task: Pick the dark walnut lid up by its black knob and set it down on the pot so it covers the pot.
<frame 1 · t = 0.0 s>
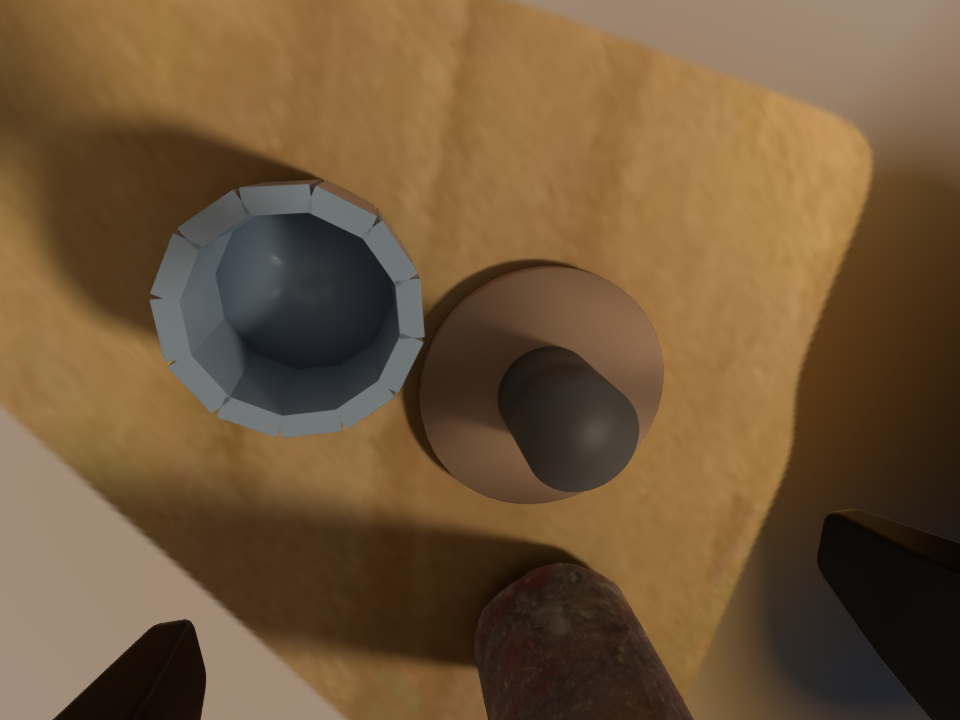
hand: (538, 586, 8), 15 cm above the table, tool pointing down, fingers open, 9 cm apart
lid: (539, 385, 24), on the table
candle: (541, 608, 27), on the table
pot: (309, 283, 20), on the table
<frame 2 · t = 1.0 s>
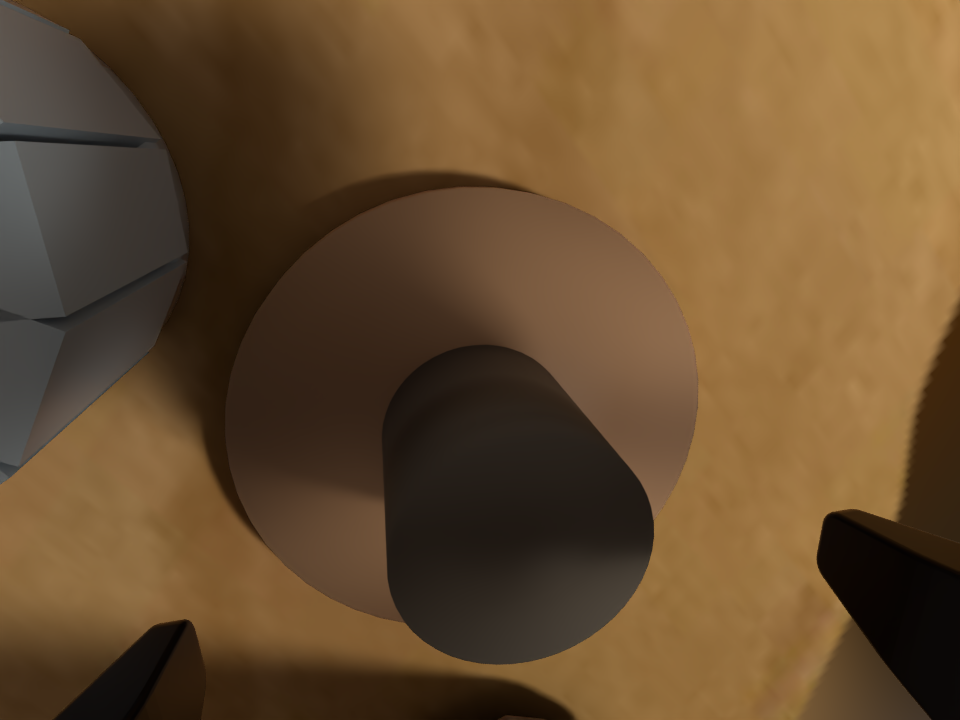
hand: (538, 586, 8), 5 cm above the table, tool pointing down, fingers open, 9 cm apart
lid: (470, 415, 13), on the table
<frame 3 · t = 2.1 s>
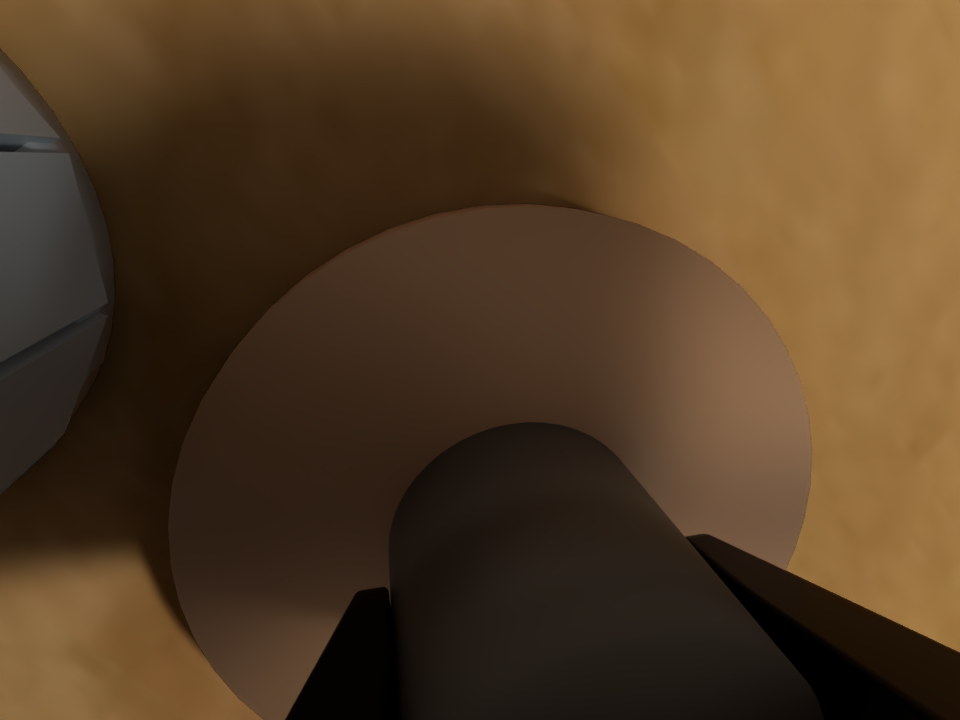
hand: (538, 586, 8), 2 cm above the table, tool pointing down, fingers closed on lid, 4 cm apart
lid: (505, 504, 10), on the table, touching gripper
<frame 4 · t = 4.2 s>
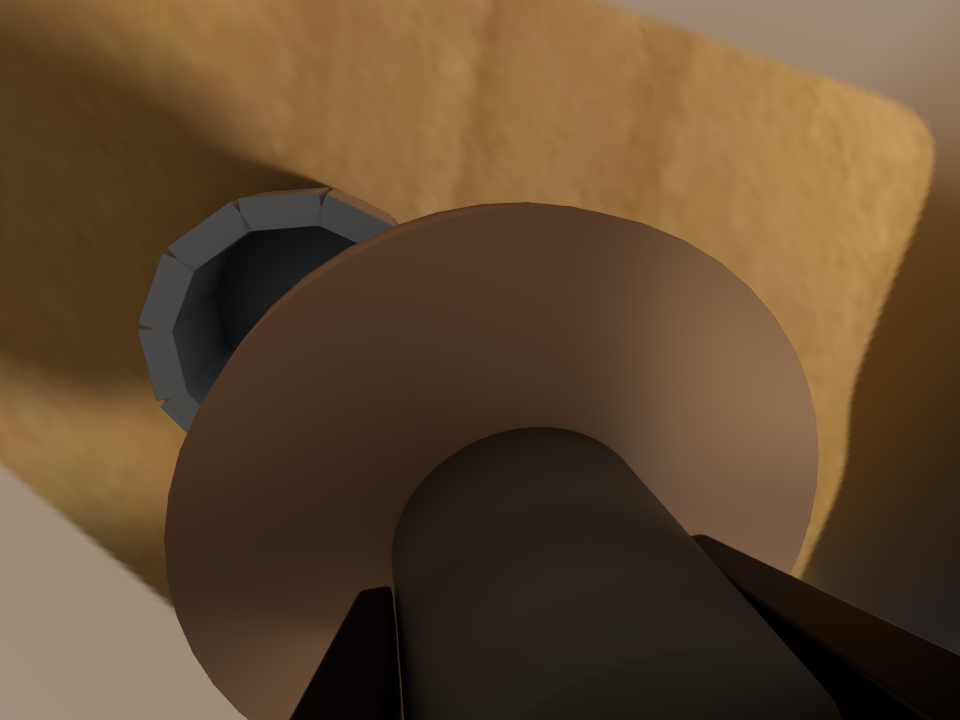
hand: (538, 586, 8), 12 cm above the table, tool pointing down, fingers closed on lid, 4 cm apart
lid: (508, 509, 10), point 10 cm above the table, touching gripper
pot: (319, 302, 18), on the table
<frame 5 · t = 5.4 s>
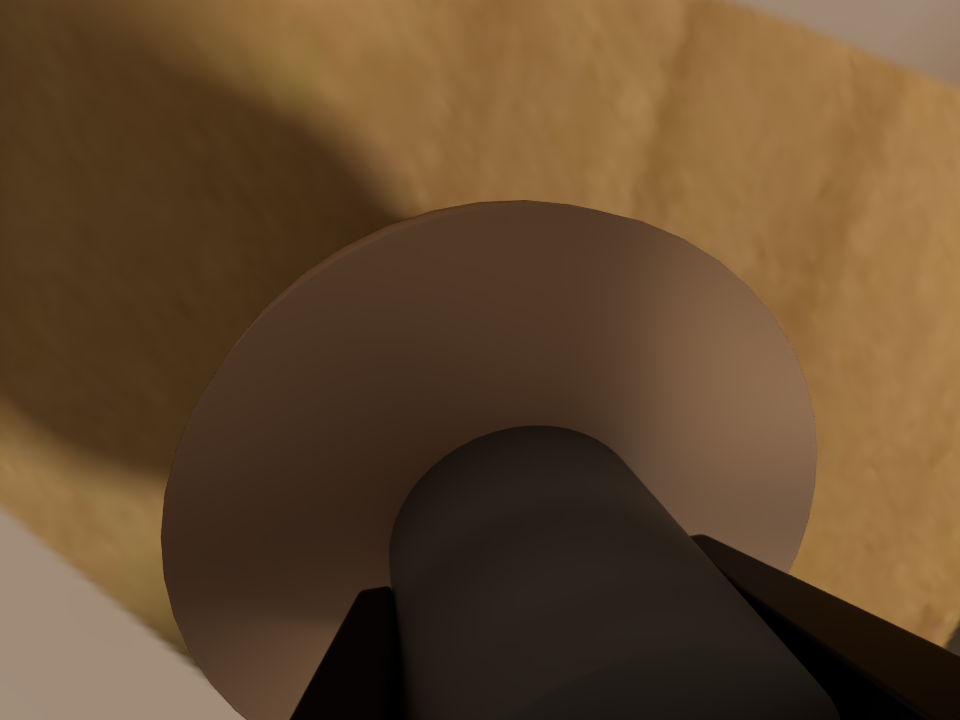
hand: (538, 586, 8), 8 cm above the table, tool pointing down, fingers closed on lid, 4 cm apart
lid: (506, 508, 10), point 6 cm above the table, touching gripper
when the fingers open (8 cm above the table, at t = 6.1 s): lid drops 1 cm, resting on pot.
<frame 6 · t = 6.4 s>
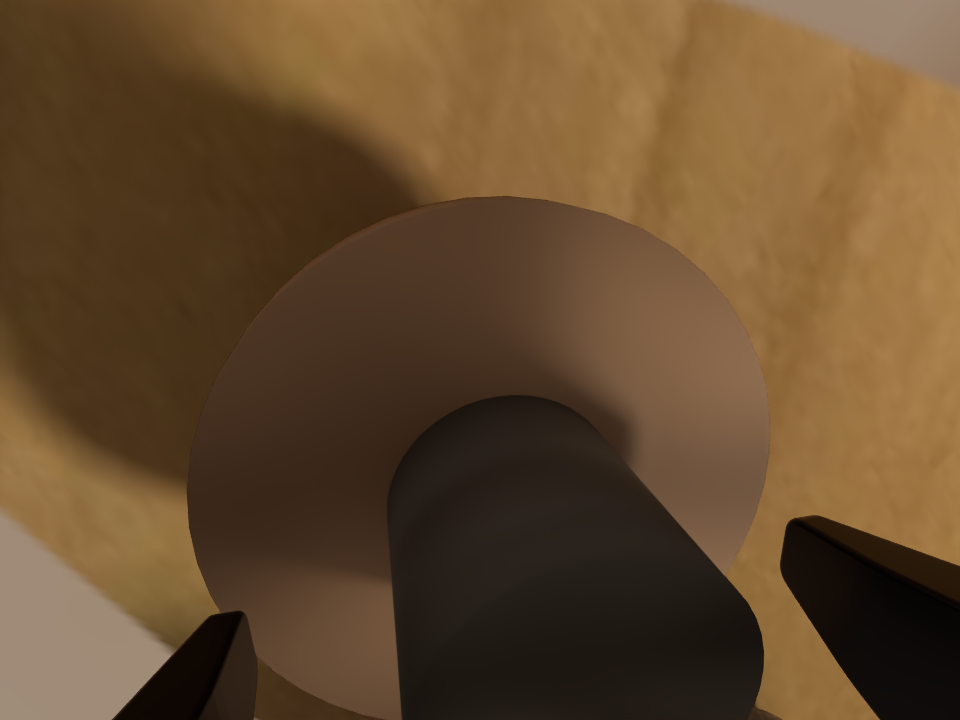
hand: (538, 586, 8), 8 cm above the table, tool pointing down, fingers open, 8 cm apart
lid: (492, 473, 11), point 5 cm above the table, touching pot
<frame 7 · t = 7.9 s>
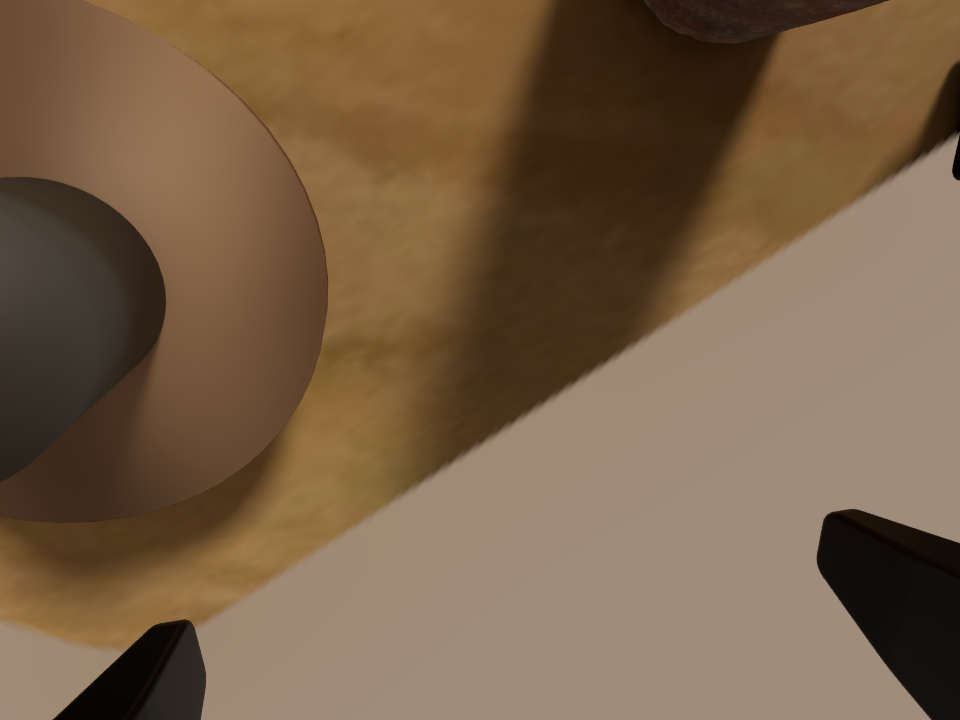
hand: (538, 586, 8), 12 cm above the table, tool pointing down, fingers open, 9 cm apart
lid: (72, 279, 12), point 5 cm above the table, touching pot
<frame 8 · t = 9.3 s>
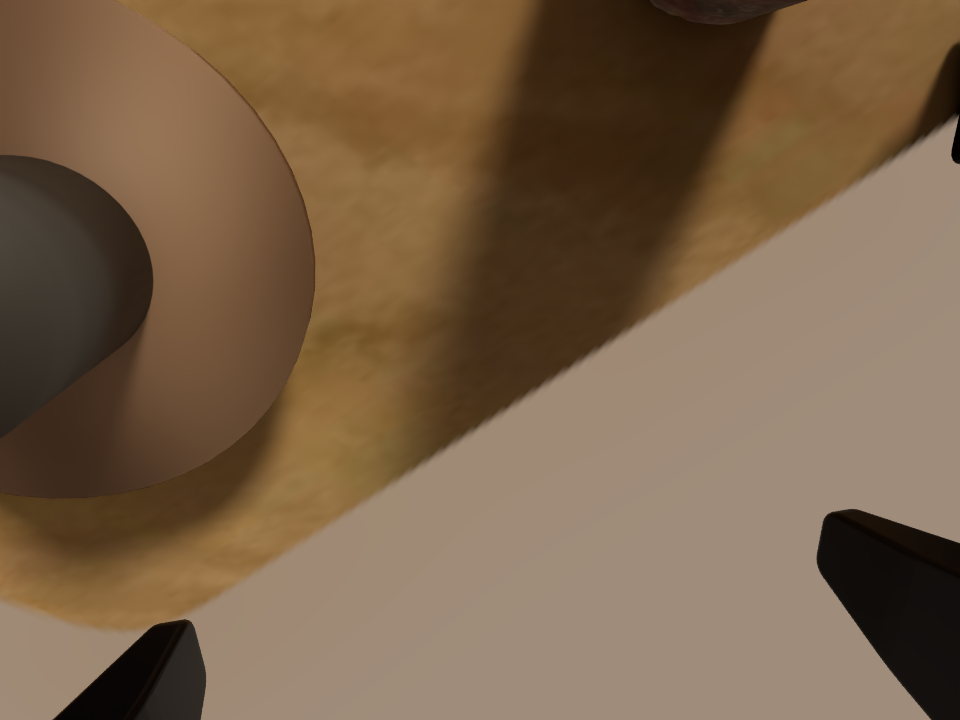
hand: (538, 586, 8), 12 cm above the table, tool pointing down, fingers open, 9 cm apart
lid: (62, 259, 12), point 5 cm above the table, touching pot
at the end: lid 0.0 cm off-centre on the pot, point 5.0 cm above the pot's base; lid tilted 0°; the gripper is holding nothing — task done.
